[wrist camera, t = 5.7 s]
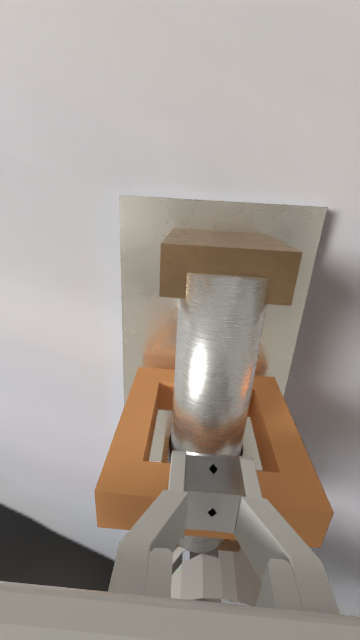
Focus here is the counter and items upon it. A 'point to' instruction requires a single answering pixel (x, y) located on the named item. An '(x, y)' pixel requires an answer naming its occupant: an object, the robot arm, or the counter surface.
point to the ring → (153, 477)
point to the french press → (214, 577)
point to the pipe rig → (212, 314)
